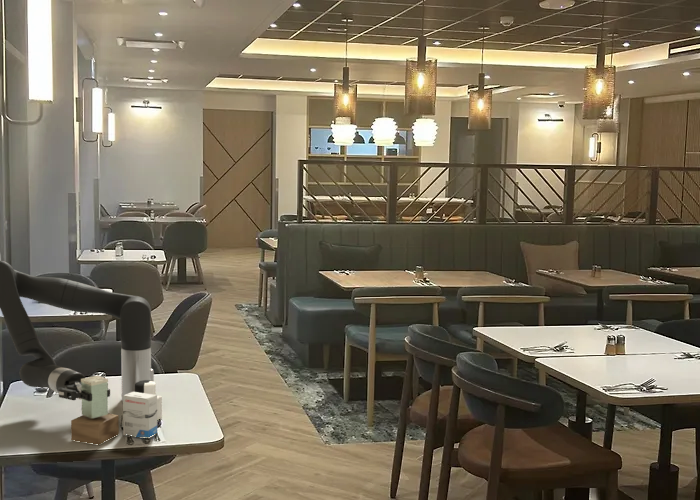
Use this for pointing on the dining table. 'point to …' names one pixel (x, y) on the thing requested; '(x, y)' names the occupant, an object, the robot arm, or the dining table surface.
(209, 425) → the dining table surface
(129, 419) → the ink box
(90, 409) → the tea tin
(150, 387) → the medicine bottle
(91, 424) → the walnut block
